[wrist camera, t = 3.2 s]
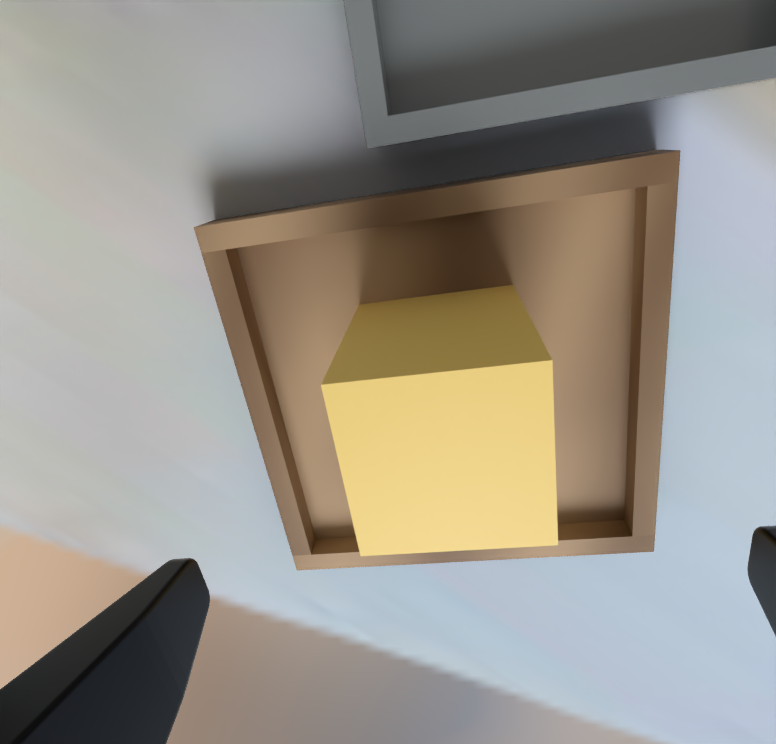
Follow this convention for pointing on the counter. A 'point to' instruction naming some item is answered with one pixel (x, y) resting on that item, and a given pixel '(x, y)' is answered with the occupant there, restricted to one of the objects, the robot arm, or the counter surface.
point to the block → (445, 424)
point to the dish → (543, 58)
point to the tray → (455, 274)
